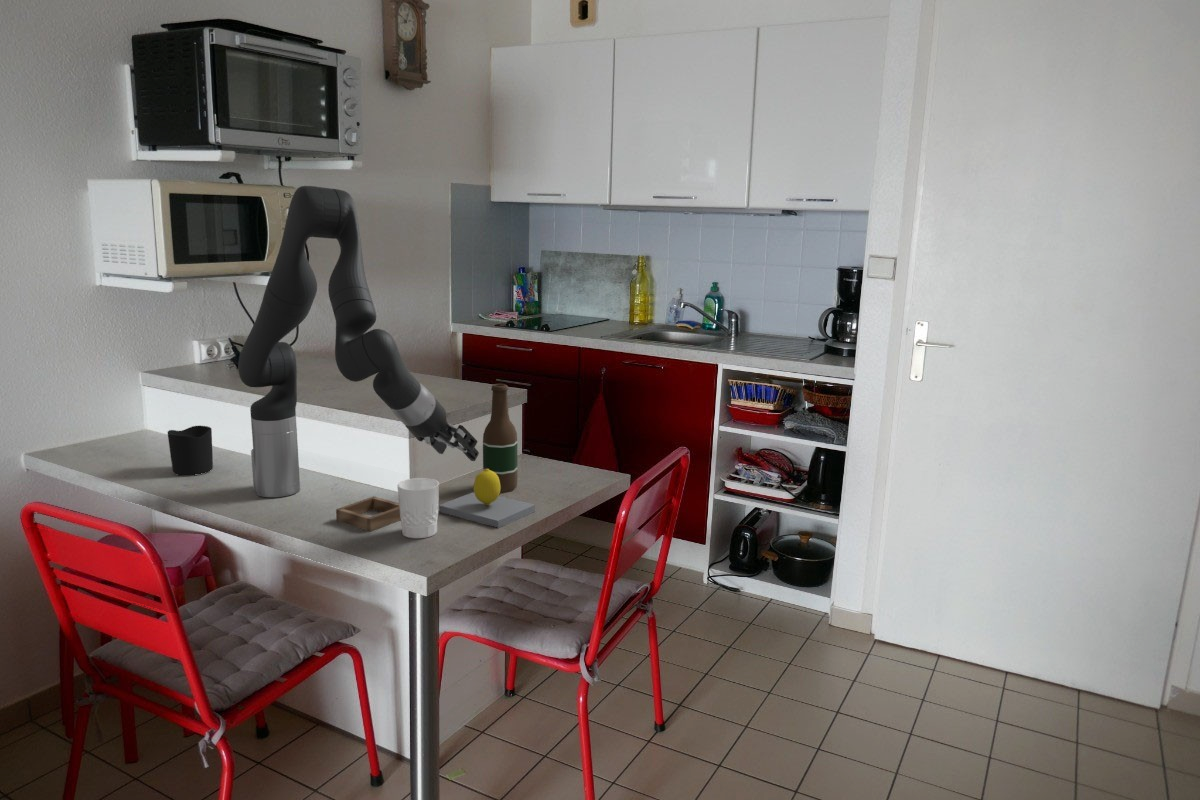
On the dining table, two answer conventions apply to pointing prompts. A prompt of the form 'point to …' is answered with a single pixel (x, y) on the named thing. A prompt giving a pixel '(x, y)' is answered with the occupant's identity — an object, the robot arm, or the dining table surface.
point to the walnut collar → (356, 510)
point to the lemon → (487, 486)
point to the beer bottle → (501, 441)
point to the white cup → (418, 507)
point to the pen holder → (191, 450)
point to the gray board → (487, 510)
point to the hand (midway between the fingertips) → (459, 453)
